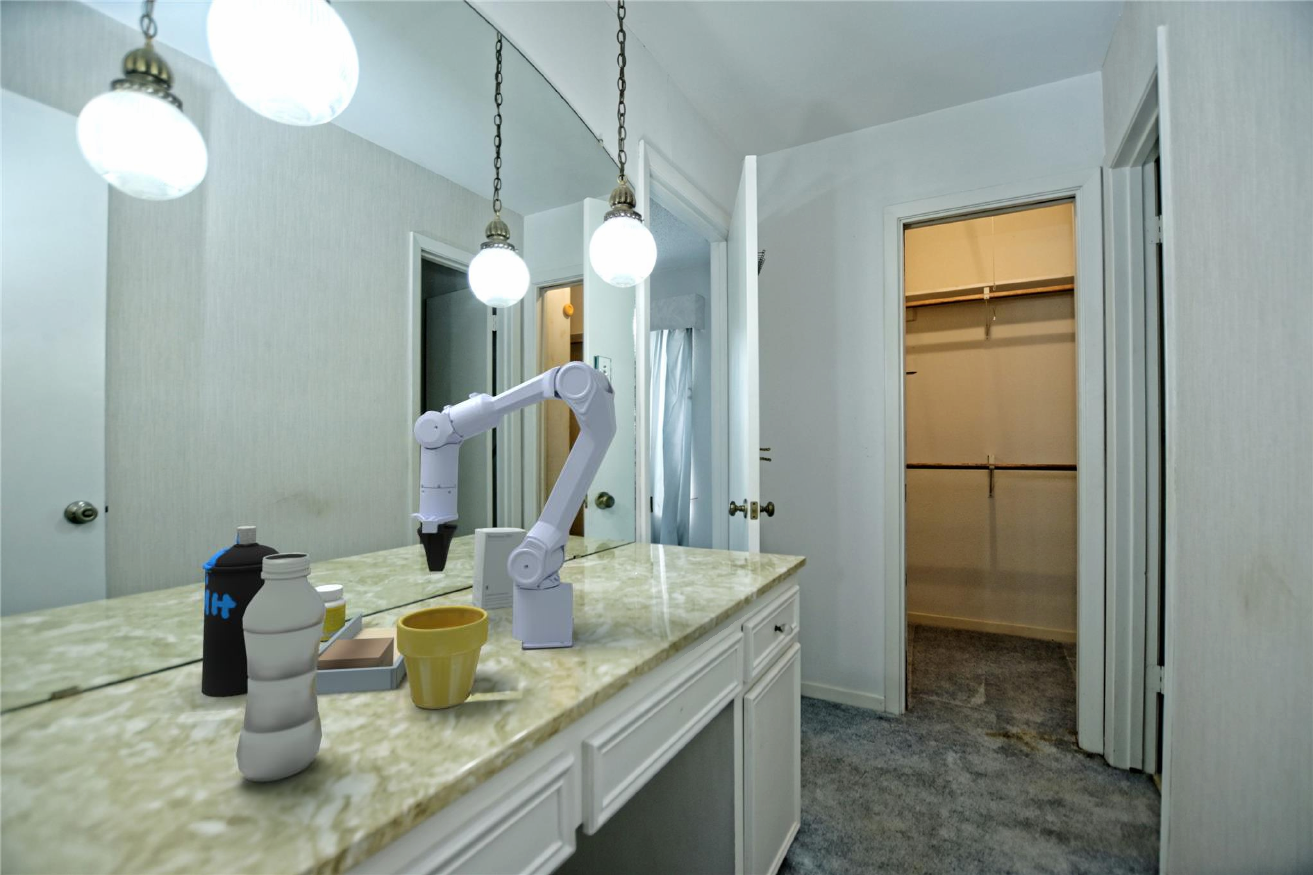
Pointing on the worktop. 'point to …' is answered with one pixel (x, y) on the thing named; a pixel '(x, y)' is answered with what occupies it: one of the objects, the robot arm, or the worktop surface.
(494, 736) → the worktop surface
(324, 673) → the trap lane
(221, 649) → the aerosol can
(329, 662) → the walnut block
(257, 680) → the plastic bottle
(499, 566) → the skincare box
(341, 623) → the supplement bottle
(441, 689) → the plant pot
